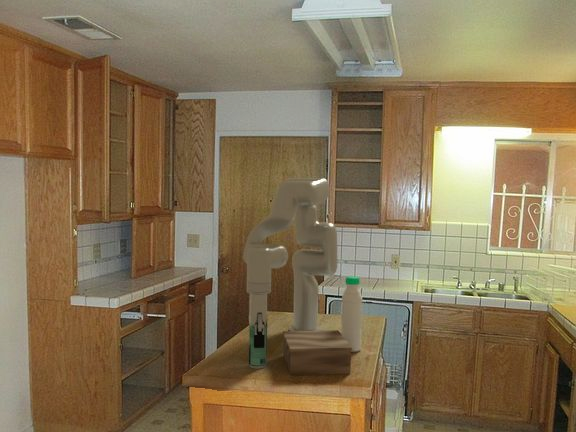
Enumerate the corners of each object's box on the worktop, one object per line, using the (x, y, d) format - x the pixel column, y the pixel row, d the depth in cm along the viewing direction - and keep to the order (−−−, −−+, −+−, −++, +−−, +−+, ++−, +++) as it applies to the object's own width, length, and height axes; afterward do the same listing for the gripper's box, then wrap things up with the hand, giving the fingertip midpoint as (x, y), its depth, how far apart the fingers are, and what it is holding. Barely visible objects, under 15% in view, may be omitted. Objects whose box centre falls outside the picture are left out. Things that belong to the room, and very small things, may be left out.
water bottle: (356, 353, 169) (357, 279, 168) (337, 350, 173) (338, 277, 171) (364, 348, 175) (366, 276, 174) (346, 344, 179) (347, 274, 177)
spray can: (269, 364, 157) (270, 300, 156) (262, 369, 152) (263, 304, 151) (253, 361, 159) (253, 299, 158) (246, 367, 154) (246, 302, 153)
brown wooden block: (282, 355, 166) (282, 331, 166) (337, 353, 168) (338, 330, 168) (289, 375, 148) (290, 348, 147) (351, 374, 150) (352, 347, 150)
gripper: (245, 282, 163) (244, 335, 164) (247, 293, 145) (247, 352, 146) (268, 282, 164) (267, 334, 164) (273, 292, 146) (272, 351, 147)
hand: (258, 342), depth 155 cm, fingers open, 8 cm apart
